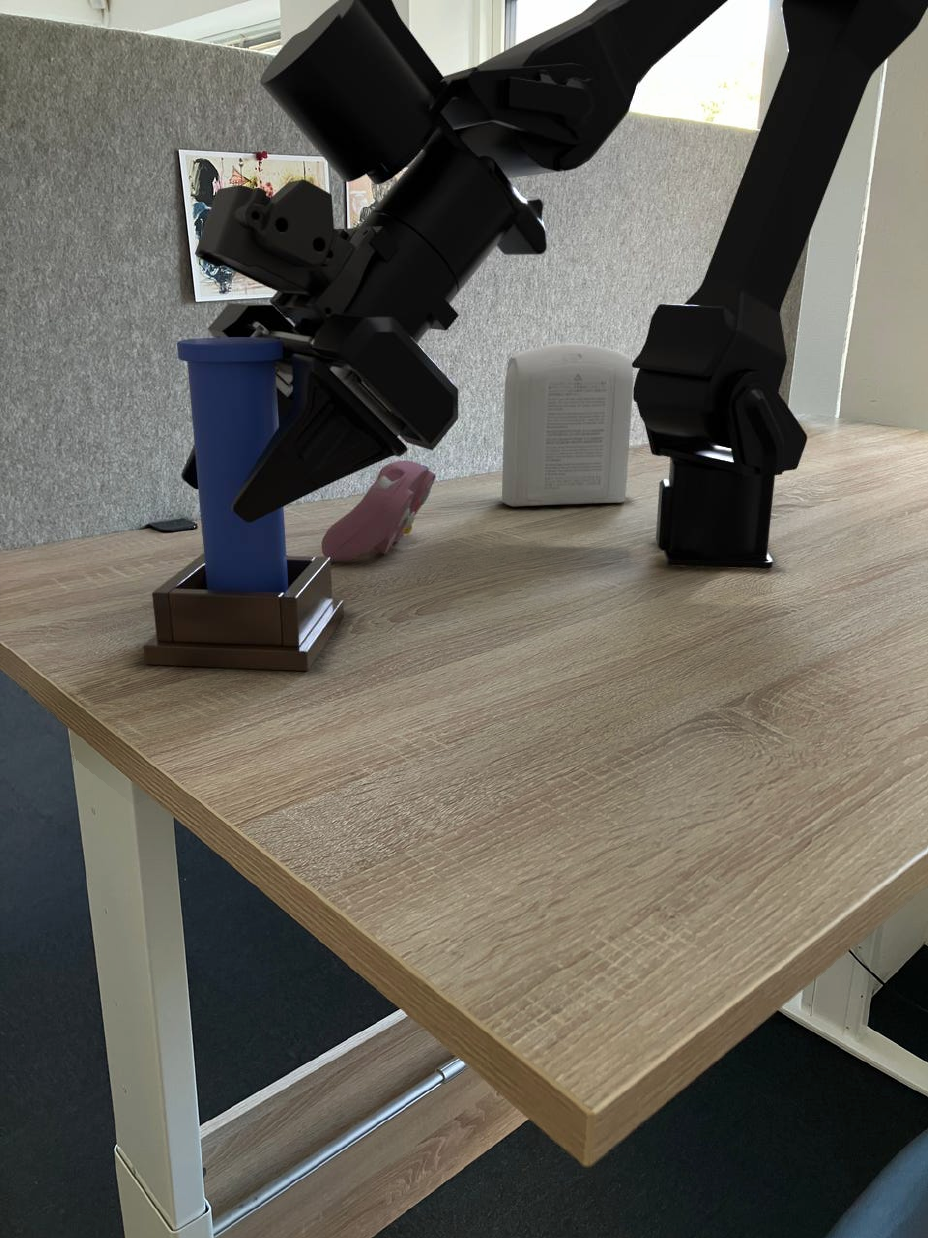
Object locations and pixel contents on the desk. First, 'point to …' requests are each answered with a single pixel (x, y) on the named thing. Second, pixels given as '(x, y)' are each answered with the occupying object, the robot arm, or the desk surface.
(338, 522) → the pink shoe
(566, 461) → the photo printer
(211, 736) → the desk surface
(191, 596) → the holder
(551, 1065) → the desk surface
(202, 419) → the blue capped tube
